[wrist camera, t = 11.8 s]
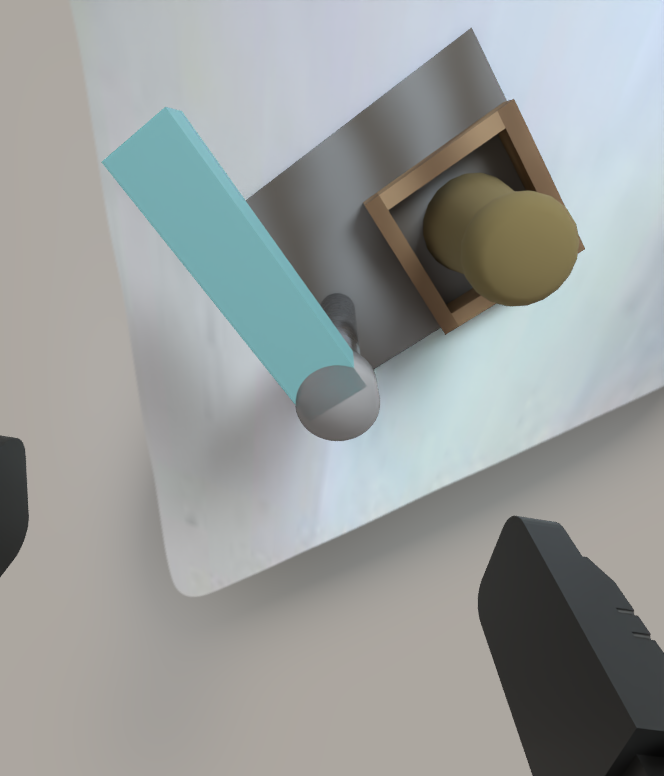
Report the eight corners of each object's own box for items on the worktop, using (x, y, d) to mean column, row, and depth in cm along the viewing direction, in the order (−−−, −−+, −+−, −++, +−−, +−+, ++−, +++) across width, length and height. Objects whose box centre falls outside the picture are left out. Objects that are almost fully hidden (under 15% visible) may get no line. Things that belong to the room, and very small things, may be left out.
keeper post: (341, 286, 34) (344, 347, 24) (361, 314, 35) (372, 386, 24) (312, 306, 35) (301, 374, 24) (332, 334, 36) (330, 412, 25)
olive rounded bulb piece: (538, 197, 32) (631, 219, 22) (488, 286, 34) (550, 343, 24) (451, 154, 31) (507, 157, 21) (406, 249, 33) (436, 292, 23)
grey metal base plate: (470, 28, 28) (480, 19, 26) (573, 243, 33) (589, 249, 31) (230, 212, 33) (223, 216, 30) (353, 379, 37) (354, 393, 35)
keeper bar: (391, 394, 24) (395, 414, 22) (327, 432, 25) (327, 454, 23) (187, 105, 19) (171, 101, 17) (117, 165, 20) (95, 167, 18)
